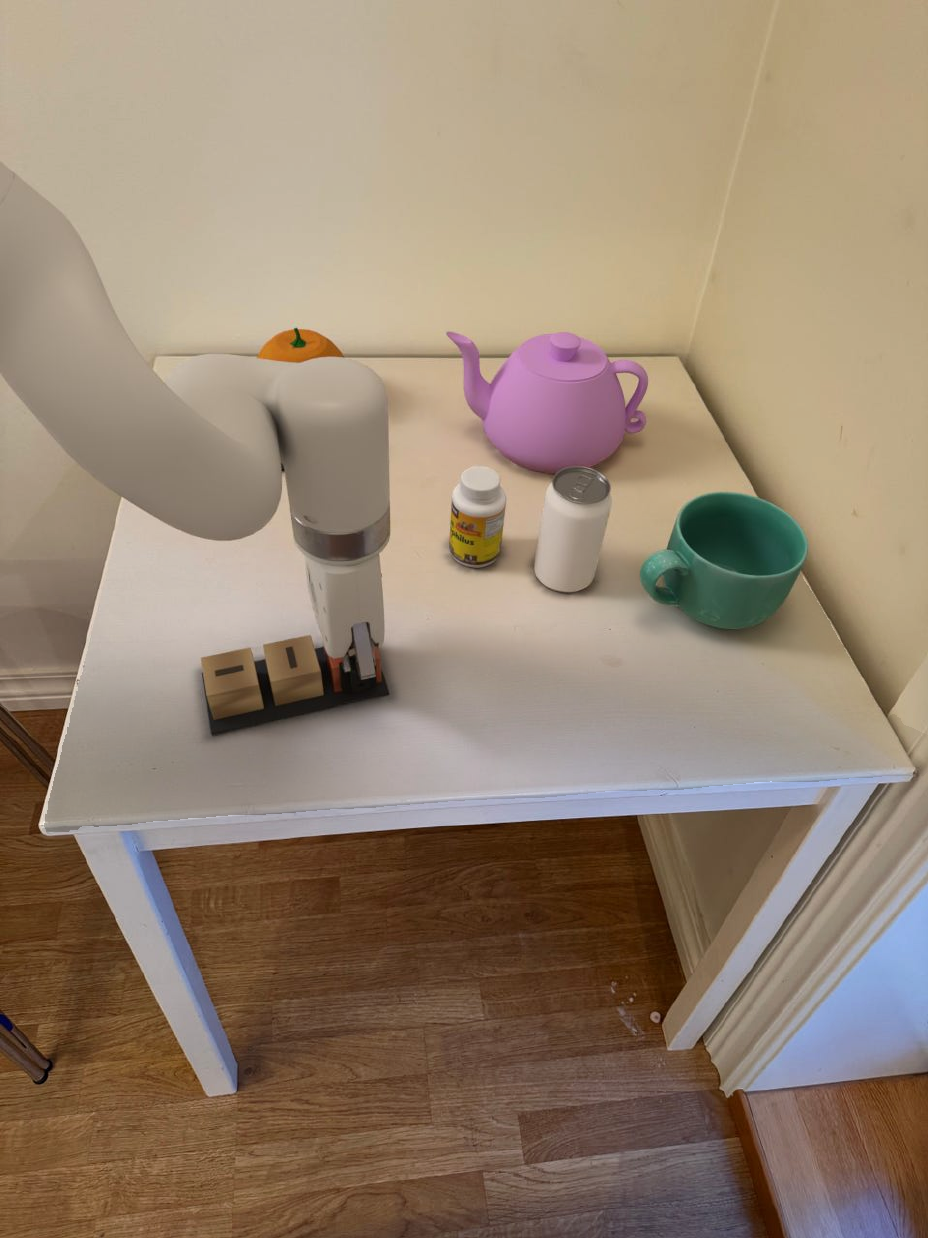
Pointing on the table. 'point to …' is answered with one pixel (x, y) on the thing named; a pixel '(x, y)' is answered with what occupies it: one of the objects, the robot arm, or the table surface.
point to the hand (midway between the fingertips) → (352, 665)
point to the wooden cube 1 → (231, 683)
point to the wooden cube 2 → (293, 670)
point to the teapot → (553, 401)
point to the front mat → (293, 708)
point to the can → (572, 528)
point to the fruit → (298, 347)
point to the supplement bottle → (477, 517)
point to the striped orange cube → (335, 672)
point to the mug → (728, 560)
